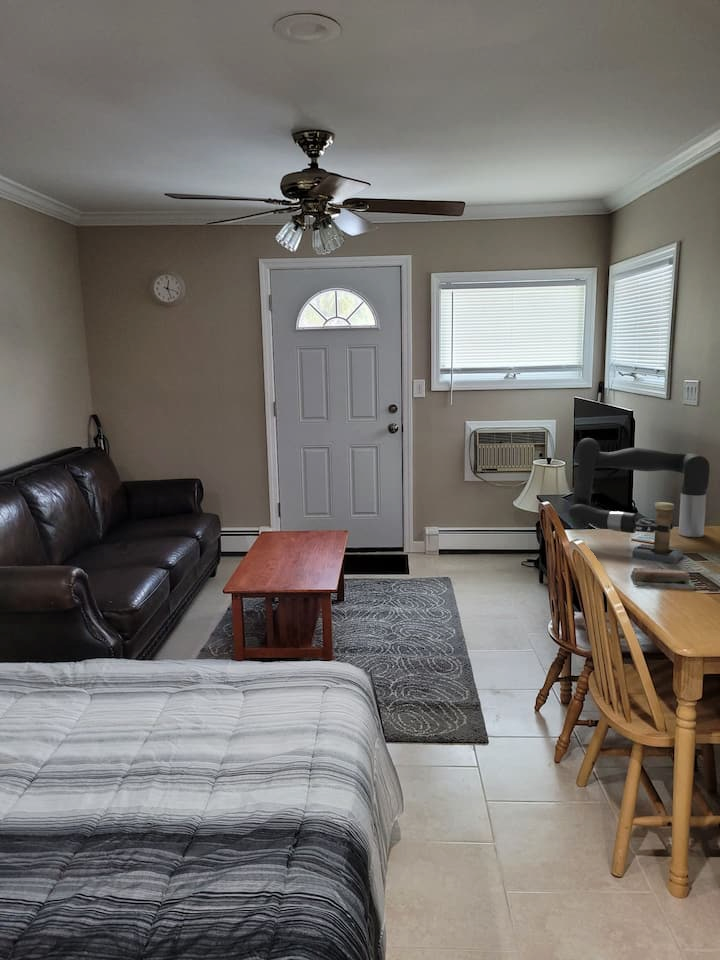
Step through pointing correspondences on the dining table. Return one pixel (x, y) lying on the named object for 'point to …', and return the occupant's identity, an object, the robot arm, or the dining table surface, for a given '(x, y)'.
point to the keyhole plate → (656, 554)
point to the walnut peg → (664, 520)
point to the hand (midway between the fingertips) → (670, 528)
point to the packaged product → (661, 578)
